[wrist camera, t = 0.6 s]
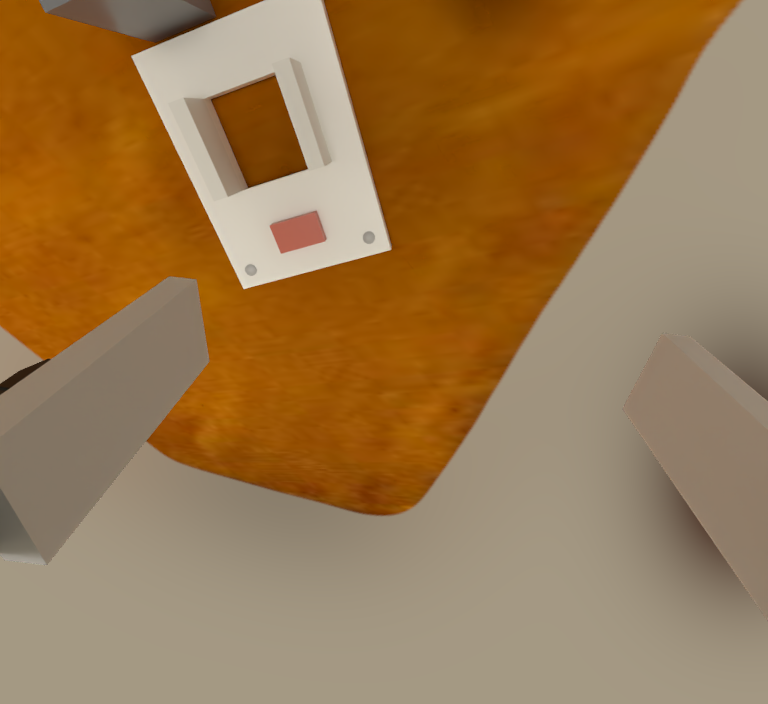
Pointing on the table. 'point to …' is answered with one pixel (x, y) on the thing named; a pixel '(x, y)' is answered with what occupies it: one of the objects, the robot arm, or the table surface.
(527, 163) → the table surface
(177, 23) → the plug
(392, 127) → the table surface
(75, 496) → the robot arm
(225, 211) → the socket
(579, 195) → the table surface
